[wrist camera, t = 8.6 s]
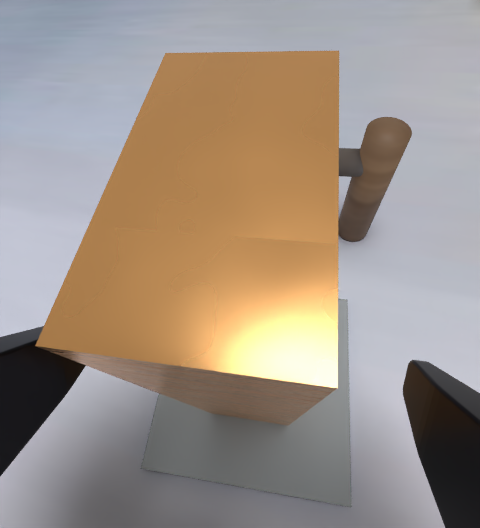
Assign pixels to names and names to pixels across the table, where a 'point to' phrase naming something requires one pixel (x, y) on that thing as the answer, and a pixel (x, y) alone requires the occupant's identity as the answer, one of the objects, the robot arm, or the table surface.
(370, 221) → the rail stand
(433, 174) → the table surface
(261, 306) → the orange c-shaped block
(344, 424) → the grey mat
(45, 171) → the table surface
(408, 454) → the table surface
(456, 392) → the robot arm
